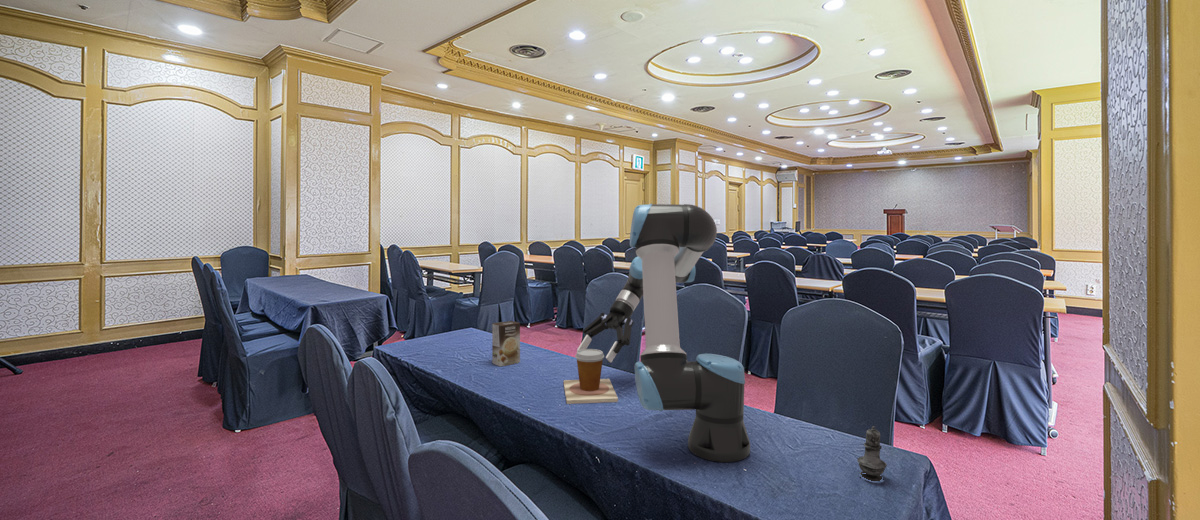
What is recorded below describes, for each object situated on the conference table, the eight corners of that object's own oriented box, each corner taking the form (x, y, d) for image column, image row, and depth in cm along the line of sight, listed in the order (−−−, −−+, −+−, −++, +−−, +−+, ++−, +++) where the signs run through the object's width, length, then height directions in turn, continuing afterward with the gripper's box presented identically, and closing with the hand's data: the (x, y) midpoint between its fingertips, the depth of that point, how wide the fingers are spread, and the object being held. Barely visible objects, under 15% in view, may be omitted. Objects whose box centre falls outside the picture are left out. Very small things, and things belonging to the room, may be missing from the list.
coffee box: (500, 367, 205) (499, 325, 204) (491, 363, 210) (491, 323, 209) (520, 362, 211) (520, 322, 210) (512, 359, 216) (511, 320, 215)
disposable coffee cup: (600, 393, 171) (601, 356, 170) (571, 391, 173) (572, 355, 172) (606, 384, 180) (606, 349, 179) (578, 382, 182) (579, 347, 181)
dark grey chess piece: (853, 478, 119) (856, 426, 118) (859, 468, 124) (862, 418, 123) (883, 487, 116) (885, 433, 115) (888, 476, 120) (891, 424, 119)
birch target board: (617, 401, 167) (617, 397, 167) (566, 403, 166) (566, 399, 165) (609, 382, 187) (609, 378, 187) (563, 383, 185) (563, 379, 185)
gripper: (657, 317, 180) (626, 370, 171) (604, 308, 198) (574, 355, 188) (647, 303, 176) (615, 356, 167) (593, 295, 193) (562, 343, 184)
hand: (593, 356), depth 177 cm, fingers open, 13 cm apart
